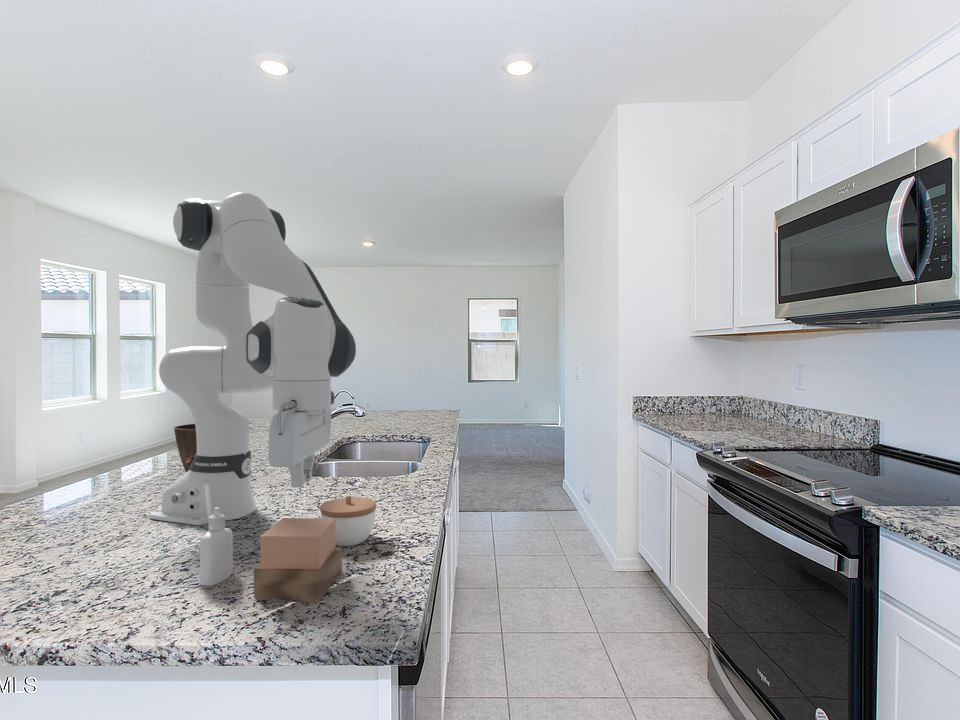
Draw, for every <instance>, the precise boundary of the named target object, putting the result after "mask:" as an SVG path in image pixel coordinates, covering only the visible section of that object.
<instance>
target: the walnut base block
mask: <svg viewBox="0 0 960 720" xmlns="http://www.w3.org/2000/svg"><path fill="white" fill-rule="evenodd" d="M342 558H343V548H342V547H335V549H334V550H333V552H332V553H331V554H330V556H329V557H328V558H327V560H326V561H325V562H324V564H323V565H322V566H321V568H320V569H260V564H257V566H255V567H254V568H253V597H254V598H258V599H260V598H263V599H275V600H276V599H277V600H292V601H290V602H292V603H307V604H308V603H309V604H317V603H319V601H320V600H321V599H322V598H323V597H324V596H325V594H327V592H328V591H329V590H330V589H331V588H332V587H333V585H334V584H335V580H336V579H337V578H338V577H339V576H340V574H341V573H342V571H343V569H342V568H343V564H342V563H343V561H342V560H343V559H342Z"/></svg>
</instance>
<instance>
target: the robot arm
mask: <svg viewBox="0 0 960 720" xmlns="http://www.w3.org/2000/svg"><path fill="white" fill-rule="evenodd" d="M172 223H173V224H172V225H173V229H174V233H175V235H176V238H177V241H178V243H180V244H181V245H182V246H183V247H184V248H186V249H190V250H193V251H198V257H197V262H196V271H195V311H196V313H195V315H196V318H197V321H199V324H201V325H202V326H204V327H206V328H208V329H210V330H211V331H214V332H215V333H218V334H220V335H222V336H223V337H224V338H225V339H226V343H227V344H226V345H223V346H222V345H221V346H220V345H219V346H218V345H215V346H214V345H213V346H212V345H190V346H184V347H178V348H173V349H169V350H168V351H167V352H165V354H164V356H163V357H162V359H161V361H160V363H159V367H158V373H159V374H158V375H159V378H160V380H161V382H162V384H163V385H164V387H165V388H167V390H168V391H170V392H171V393H173V394H175V395H176V396H177V397H178V398H180V399H181V400H182V401H183V402H184V403H185V404H186V406H187V407H188V409H189V410H190V413H191V415H192V418H193V421H194V424H195V427H196V438H197V454H195V455H193V456H192V457H190V458H186V459H185V460H187V459H189V461H187V462H185V463H190V462H192V463H191V466H190V468H189V469H190V470H189V471H188V472H185V473H184V474H182V475H181V476H180V477H179V478H177V479H176V480H175V481H174V482H172V483H171V484H170V485H168V486H167V487H166V488H165V490H164V492H163V494H162V499H161V506H159V507H158V508H156V509H154V510H152V511H151V512H150V513H149V519H150V520H157V521H165V522H170V523H178V524H185V525H193V526H202V525H207V524H208V525H209V517H210V516H211V515H213V513H214V508H216V507H219V509H220V513H221V514H223V515H225V521H231V520H236V519H240V518H242V517H245V516H248V515H251V514H252V513H254V512H255V511H256V510H257V505H256V502H255V499H254V494H253V493H254V492H253V489H252V482H251V481H252V480H251V472H252V451H251V450H250V420H249V419H248V416H247V415H245V413H243V412H242V411H240V410H238V409H236V408H234V407H231V406H228V405H226V404H224V403H223V401H222V400H221V398H220V397H221V396H220V395H222V394H234V393H235V394H238V393H239V394H245V393H247V394H248V393H253V394H254V393H258V392H263V391H268V390H272V410H273V411H277V412H276V414H274V415H273V416H272V418H271V420H270V425H269V432H268V434H269V435H268V446H267V447H268V448H267V450H268V451H267V459H268V463H269V465H270V467H272V468H287V469H288V471H289V474H290V477H291V478H290V479H291V481H290V485H291V488H302V487H304V485H305V484H306V483H308V482H309V481H312V478H313V468H314V467H313V466H314V463H315V459H316V458H315V457H316V452H318V451H320V450H322V449H323V448H325V447H326V446H328V444H329V440H330V436H331V427H332V425H331V423H332V405H334V404H335V402H336V401H335V399H336V398H335V397H336V396H335V392H334V391H333V390H332V388H331V377H332V378H337V377H340V376H341V375H343V373H345V372H346V371H347V370H348V369H349V367H351V365H352V364H353V362H354V360H355V358H356V354H357V346H356V342H355V338H354V335H353V334H352V332H351V330H350V329H349V328H348V327H347V325H346V324H345V323H344V322H343V320H342V319H340V317H339V315H338V313H337V312H336V309H334V306H333V305H332V303H331V301H330V300H329V298H328V296H327V294H326V292H325V291H324V289H323V287H322V284H321V283H320V282H319V280H318V278H317V276H316V275H315V273H314V271H313V270H312V268H311V267H310V266H309V265H308V264H307V263H306V262H305V261H304V260H302V259H300V258H299V257H298V256H297V255H296V254H295V253H294V251H292V249H291V248H290V247H289V246H288V245H287V244H286V242H285V241H286V236H287V232H286V231H287V229H286V223H285V220H284V218H283V216H282V214H281V213H280V212H279V211H276V210H274V209H272V208H269V207H268V206H267V204H266V203H265V202H264V201H263V200H262V198H260V197H259V196H257V195H255V194H253V193H250V192H235V193H232V194H230V195H228V196H227V197H225V198H224V199H223V200H212V199H211V200H209V199H208V200H205V199H204V200H203V199H201V198H198V197H197V198H187V199H183V200H182V201H181V202H179V203H178V205H177V206H176V209H175V211H174V214H173V218H172ZM250 285H253V286H257V287H260V288H264V289H267V290H271V291H274V292H276V293H279V294H281V295H284V296H286V297H282V298H279V299H278V300H276V303H275V307H274V311H273V314H272V315H270V317H268V318H266V320H264V321H263V320H262V321H258V322H257V323H256V324H255V325H253V322H252V321H253V320H252V317H251V316H252V315H251V307H250Z"/></svg>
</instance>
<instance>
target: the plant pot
mask: <svg viewBox="0 0 960 720" xmlns="http://www.w3.org/2000/svg"><path fill="white" fill-rule="evenodd" d="M173 430H174V437H175V441H176V446H177V451H178V454H179V457H180V461H181V463H182V467H183V469H184V471H185V473H186V472H188V471H189V470H190V469H189V468H190V466H191V463H192V462H190V463H185V462H187V461H189V459H187V460H185V459H186V458H190V457H192V456H193V455H195V454H197V438H196V427H195V423H192V424H191V423H189V424H188V423H187V424H182V425H176V426H174V427H173Z"/></svg>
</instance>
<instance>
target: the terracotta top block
mask: <svg viewBox="0 0 960 720" xmlns="http://www.w3.org/2000/svg"><path fill="white" fill-rule="evenodd" d="M259 538H260V543H259V545H260V547H259V548H260V549H259V551H260V557H259V558H260V559H259V561H260V564H259V565H260V569H320V568H321V566H322V565H323V564H324V562H325V561H326V560H327V558H328V557H329V556H330V554H331V553H332V552H333V550H334V549H335V548H336V519H328V518H321V517H318V518H317V517H316V518H313V517H309V518H302V517H301V518H299V517H296V518H295V517H292V518H291V517H290V518H289V517H285V518H284V517H283V518H281V519H280V520H278V521H277V522H276V523H275V524H273V525H272V526H271V527H270V528H269V529H267V530H266V531H265V532H264V533H262V534H261V535H260V537H259Z"/></svg>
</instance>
